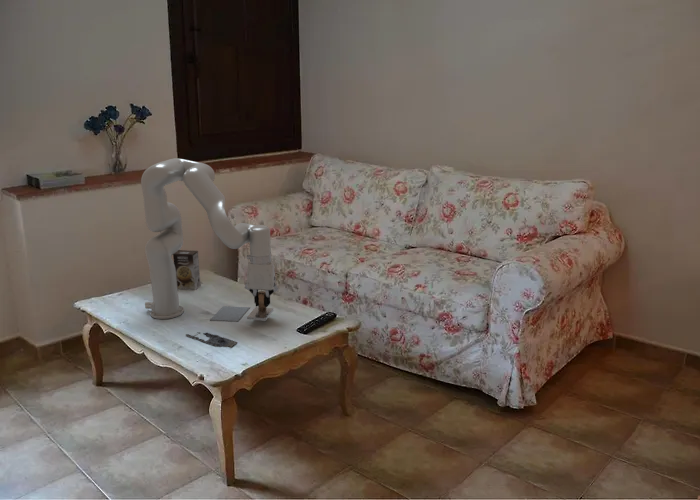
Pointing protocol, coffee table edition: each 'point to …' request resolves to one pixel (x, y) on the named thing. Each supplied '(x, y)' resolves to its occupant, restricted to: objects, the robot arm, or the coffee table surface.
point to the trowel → (260, 309)
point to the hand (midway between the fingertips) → (262, 305)
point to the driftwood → (215, 340)
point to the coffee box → (187, 269)
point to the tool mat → (230, 314)
